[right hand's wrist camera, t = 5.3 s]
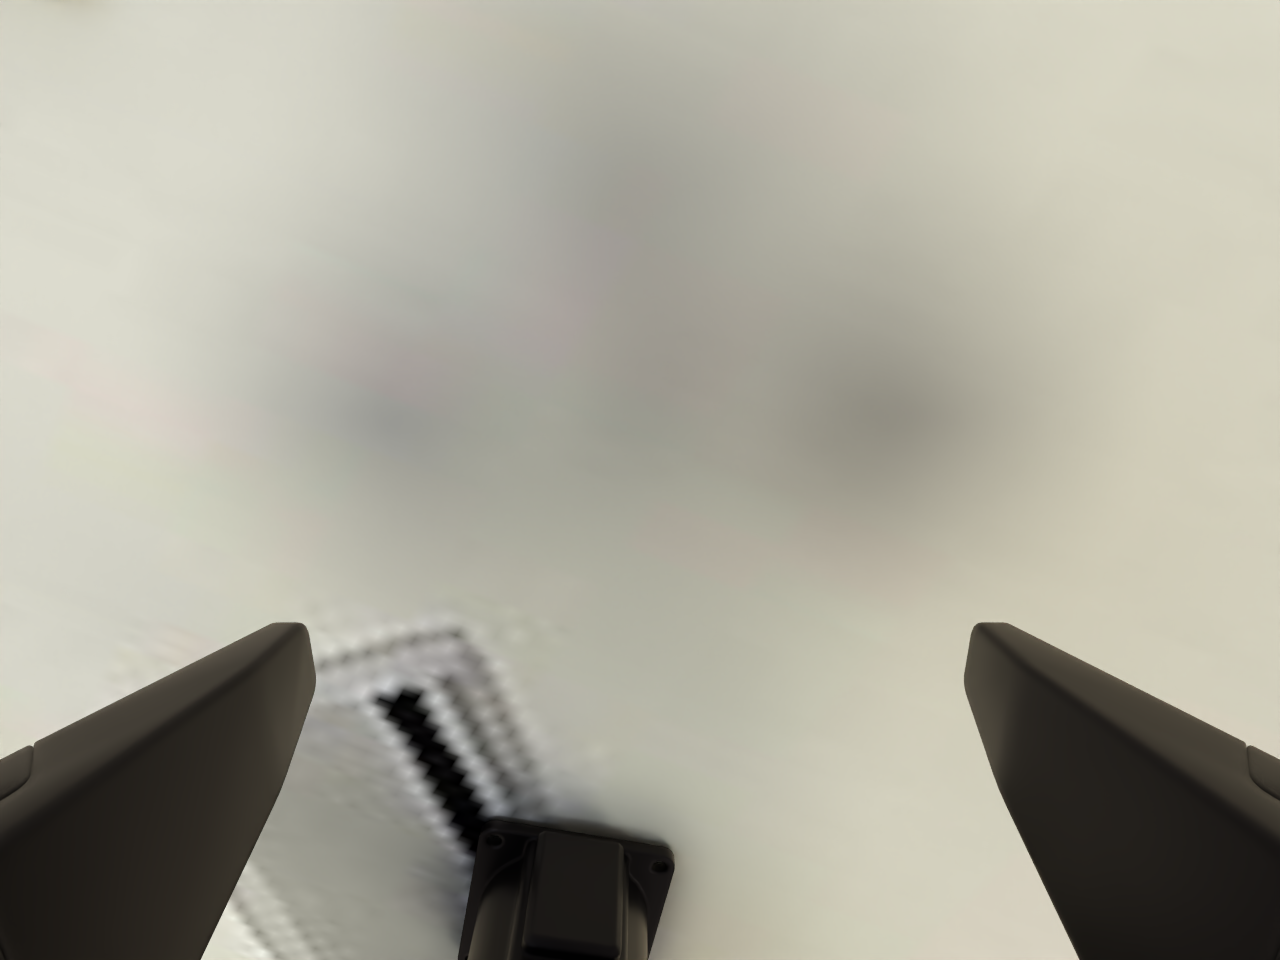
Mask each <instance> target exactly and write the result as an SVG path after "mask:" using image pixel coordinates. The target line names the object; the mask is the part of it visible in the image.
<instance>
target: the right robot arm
mask: <svg viewBox="0 0 1280 960" xmlns="http://www.w3.org/2000/svg"><path fill="white" fill-rule="evenodd" d="M315 686H316V673H315V667H314V661H313V655H312V649H311V644H310V638H309V633H308V630H307V628H306V626H305V625H304V624H302V623H272V624H270V625H268V626H266V627H264V628H262V629H260V630H258V631H256V632H254V633H252V634H250V635H248V636H246V637H244V638H242V639H240V640H238V641H236V642H234V643H232V644H230V645H228V646H226V647H224V648H222V649H220V650H218V651H216V652H214V653H212V654H210V655H208V656H206V657H204V658H202V659H200V660H198V661H196V662H194V663H192V664H190V665H188V666H186V667H184V668H182V669H180V670H178V671H176V672H174V673H172V674H170V675H168V676H166V677H164V678H162V679H160V680H158V681H156V682H154V683H152V684H150V685H148V686H146V687H144V688H142V689H140V690H138V691H136V692H134V693H132V694H130V695H128V696H126V697H124V698H122V699H120V700H118V701H116V702H114V703H112V704H110V705H108V706H106V707H104V708H102V709H100V710H98V711H96V712H94V713H92V714H90V715H88V716H86V717H84V718H82V719H80V720H79V721H77V722H75V723H73V724H71V725H69V726H67V727H65V728H63V729H61V730H59V731H57V732H55V733H53V734H51V735H49V736H47V737H45V738H43V739H41V740H39V741H37V742H35V743H34V748H33V747H32V746H26V747H24V748H22V749H20V750H18V751H16V752H14V753H12V754H10V755H9V756H7V757H5V758H3V759H1V760H0V960H201V958H202V955H203V953H204V951H205V949H206V947H207V945H208V943H209V941H210V939H211V937H212V934H213V932H214V930H215V928H216V926H217V924H218V922H219V920H220V918H221V916H222V913H223V911H224V909H225V907H226V905H227V903H228V901H229V899H230V897H231V894H232V892H233V890H234V888H235V886H236V884H237V882H238V880H239V878H240V876H241V873H242V871H243V869H244V867H245V865H246V863H247V861H248V859H249V857H250V855H251V852H252V850H253V848H254V846H255V844H256V842H257V840H258V838H259V836H260V833H261V831H262V829H263V827H264V825H265V823H266V821H267V819H268V817H269V815H270V812H271V810H272V808H273V806H274V804H275V802H276V799H277V797H278V795H279V793H280V790H281V788H282V785H283V783H284V780H285V777H286V775H287V772H288V769H289V766H290V763H291V760H292V757H293V754H294V751H295V748H296V745H297V742H298V739H299V736H300V733H301V730H302V727H303V724H304V721H305V719H306V716H307V713H308V710H309V707H310V704H311V701H312V698H313V695H314V691H315ZM964 686H965V691H966V695H967V698H968V701H969V704H970V707H971V710H972V713H973V716H974V719H975V722H976V724H977V727H978V730H979V733H980V736H981V739H982V742H983V745H984V748H985V751H986V754H987V757H988V760H989V763H990V766H991V769H992V772H993V775H994V777H995V780H996V783H997V785H998V788H999V790H1000V793H1001V795H1002V797H1003V799H1004V802H1005V804H1006V806H1007V808H1008V810H1009V812H1010V815H1011V817H1012V819H1013V821H1014V823H1015V825H1016V827H1017V829H1018V831H1019V833H1020V836H1021V838H1022V840H1023V842H1024V844H1025V846H1026V848H1027V850H1028V852H1029V855H1030V857H1031V859H1032V861H1033V863H1034V865H1035V867H1036V869H1037V871H1038V873H1039V876H1040V878H1041V880H1042V882H1043V884H1044V886H1045V888H1046V890H1047V892H1048V894H1049V897H1050V899H1051V901H1052V903H1053V905H1054V907H1055V909H1056V911H1057V913H1058V916H1059V918H1060V920H1061V922H1062V924H1063V926H1064V928H1065V930H1066V932H1067V934H1068V937H1069V939H1070V941H1071V943H1072V945H1073V947H1074V949H1075V951H1076V953H1077V956H1078V958H1079V960H1280V760H1279V759H1277V758H1275V757H1273V756H1271V755H1269V754H1268V753H1266V752H1264V751H1262V750H1260V749H1258V748H1256V747H1254V746H1248V747H1247V748H1246V743H1245V742H1243V741H1241V740H1239V739H1237V738H1235V737H1233V736H1231V735H1229V734H1227V733H1225V732H1223V731H1221V730H1219V729H1217V728H1215V727H1213V726H1211V725H1209V724H1207V723H1205V722H1203V721H1201V720H1200V719H1198V718H1196V717H1194V716H1192V715H1190V714H1188V713H1186V712H1184V711H1182V710H1180V709H1178V708H1176V707H1174V706H1172V705H1170V704H1168V703H1166V702H1164V701H1162V700H1160V699H1158V698H1156V697H1154V696H1152V695H1150V694H1148V693H1146V692H1144V691H1142V690H1140V689H1138V688H1136V687H1134V686H1132V685H1130V684H1128V683H1126V682H1124V681H1122V680H1120V679H1118V678H1116V677H1114V676H1112V675H1110V674H1108V673H1106V672H1104V671H1102V670H1100V669H1098V668H1096V667H1094V666H1092V665H1090V664H1088V663H1086V662H1084V661H1082V660H1080V659H1078V658H1076V657H1074V656H1072V655H1070V654H1068V653H1066V652H1064V651H1062V650H1060V649H1058V648H1056V647H1054V646H1052V645H1050V644H1048V643H1046V642H1044V641H1042V640H1040V639H1038V638H1036V637H1034V636H1032V635H1030V634H1028V633H1026V632H1024V631H1022V630H1020V629H1018V628H1016V627H1014V626H1012V625H1010V624H1008V623H978V624H976V625H975V626H974V628H973V630H972V633H971V638H970V643H969V649H968V655H967V661H966V667H965V673H964ZM491 835H496V836H499V838H494V837H492V836H491ZM659 861H662V862H663V863H655V862H659ZM673 873H674V854H673V853H672V851H671V850H669V849H668V848H666V847H663V846H656V845H650V844H644V843H638V842H631V841H625V840H619V839H613V838H606V837H600V836H594V835H588V834H581V833H575V832H569V831H563V830H556V829H550V828H544V827H537V826H531V825H525V824H519V823H512V822H506V821H500V820H491V821H488V822H486V823H485V824H484V825H483V826H482V829H481V832H480V836H479V841H478V847H477V853H476V858H475V864H474V869H473V875H472V881H471V886H470V892H469V898H468V903H467V909H466V915H465V920H464V926H463V931H462V937H461V943H460V948H459V954H458V960H648V958H649V954H650V951H651V947H652V944H653V941H654V937H655V934H656V930H657V927H658V924H659V920H660V917H661V913H662V910H663V907H664V903H665V900H666V896H667V893H668V890H669V886H670V883H671V879H672V876H673Z"/></svg>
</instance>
